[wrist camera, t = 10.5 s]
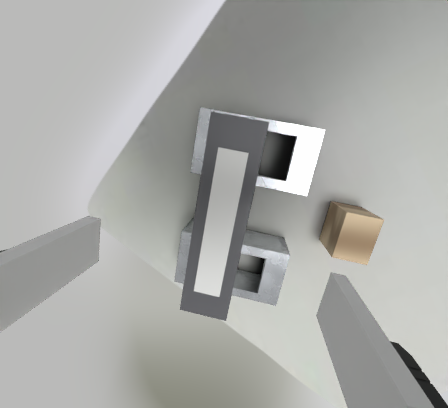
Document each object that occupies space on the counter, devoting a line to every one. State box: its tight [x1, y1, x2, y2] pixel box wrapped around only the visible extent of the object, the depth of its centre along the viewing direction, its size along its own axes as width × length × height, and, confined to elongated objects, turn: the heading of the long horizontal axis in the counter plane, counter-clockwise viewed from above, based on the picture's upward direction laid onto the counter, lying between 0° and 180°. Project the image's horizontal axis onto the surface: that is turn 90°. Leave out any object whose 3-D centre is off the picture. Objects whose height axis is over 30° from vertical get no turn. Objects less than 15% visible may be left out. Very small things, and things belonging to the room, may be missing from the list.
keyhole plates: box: [175, 107, 325, 306], centre depth 27 cm, size 19×12×5 cm, turn 170°
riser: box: [319, 201, 384, 265], centre depth 26 cm, size 5×4×5 cm
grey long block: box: [180, 112, 269, 321], centre depth 24 cm, size 18×4×8 cm, turn 170°
